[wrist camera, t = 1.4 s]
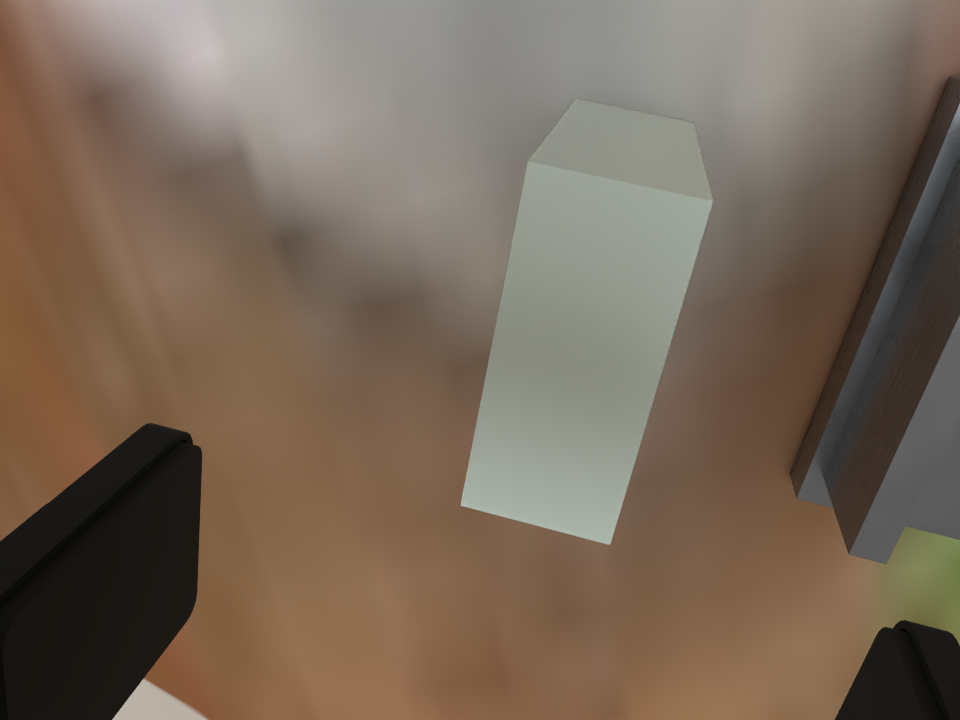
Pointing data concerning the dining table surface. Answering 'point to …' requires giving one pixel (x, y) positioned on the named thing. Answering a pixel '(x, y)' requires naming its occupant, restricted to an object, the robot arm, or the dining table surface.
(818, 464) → the rack
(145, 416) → the dining table surface
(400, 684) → the dining table surface
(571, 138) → the pale green rectangular prism
